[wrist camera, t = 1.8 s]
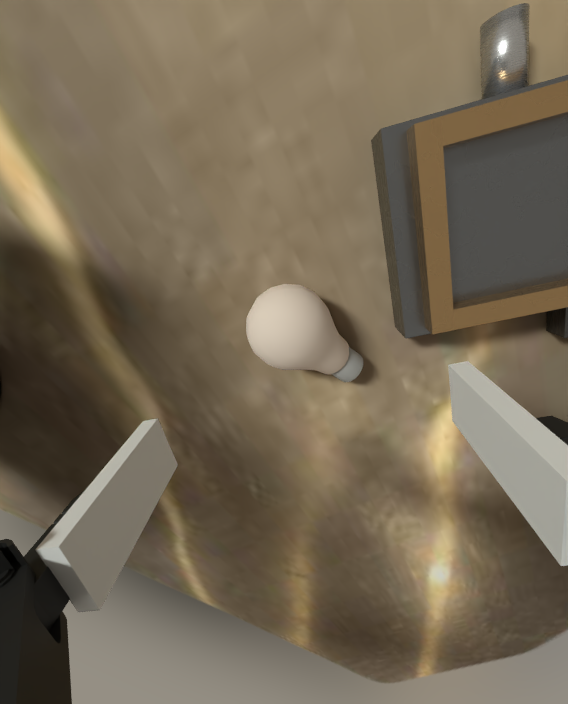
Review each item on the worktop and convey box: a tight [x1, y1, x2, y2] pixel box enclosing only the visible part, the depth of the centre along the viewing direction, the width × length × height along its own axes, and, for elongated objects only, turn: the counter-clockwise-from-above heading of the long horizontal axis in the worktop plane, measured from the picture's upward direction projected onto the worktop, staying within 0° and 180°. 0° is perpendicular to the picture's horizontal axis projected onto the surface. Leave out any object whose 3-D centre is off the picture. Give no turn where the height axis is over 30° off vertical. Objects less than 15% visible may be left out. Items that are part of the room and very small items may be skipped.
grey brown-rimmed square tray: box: [371, 3, 568, 338], centre depth 22 cm, size 16×21×4 cm
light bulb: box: [246, 284, 363, 382], centre depth 26 cm, size 7×7×11 cm
